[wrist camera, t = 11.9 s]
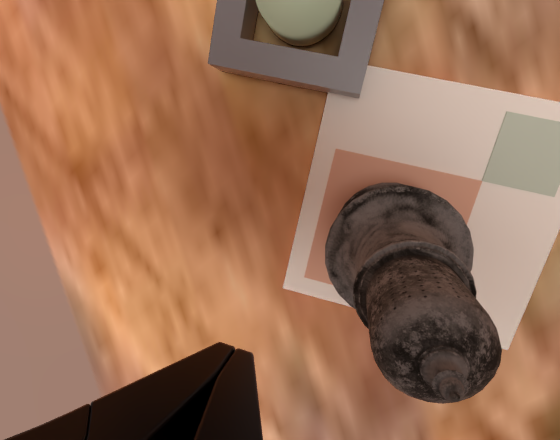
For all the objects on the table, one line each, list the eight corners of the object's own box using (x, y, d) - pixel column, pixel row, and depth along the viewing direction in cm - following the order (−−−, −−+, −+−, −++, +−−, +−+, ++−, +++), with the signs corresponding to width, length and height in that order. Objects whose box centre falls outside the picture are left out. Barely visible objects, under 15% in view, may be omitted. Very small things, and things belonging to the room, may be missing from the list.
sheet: (604, 111, 16) (611, 111, 15) (505, 346, 19) (508, 351, 18) (335, 60, 17) (335, 58, 17) (283, 286, 20) (282, 288, 20)
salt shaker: (336, 169, 18) (318, 226, 6) (461, 184, 17) (697, 279, 6) (321, 279, 19) (285, 485, 8) (436, 297, 19) (582, 560, 7)
